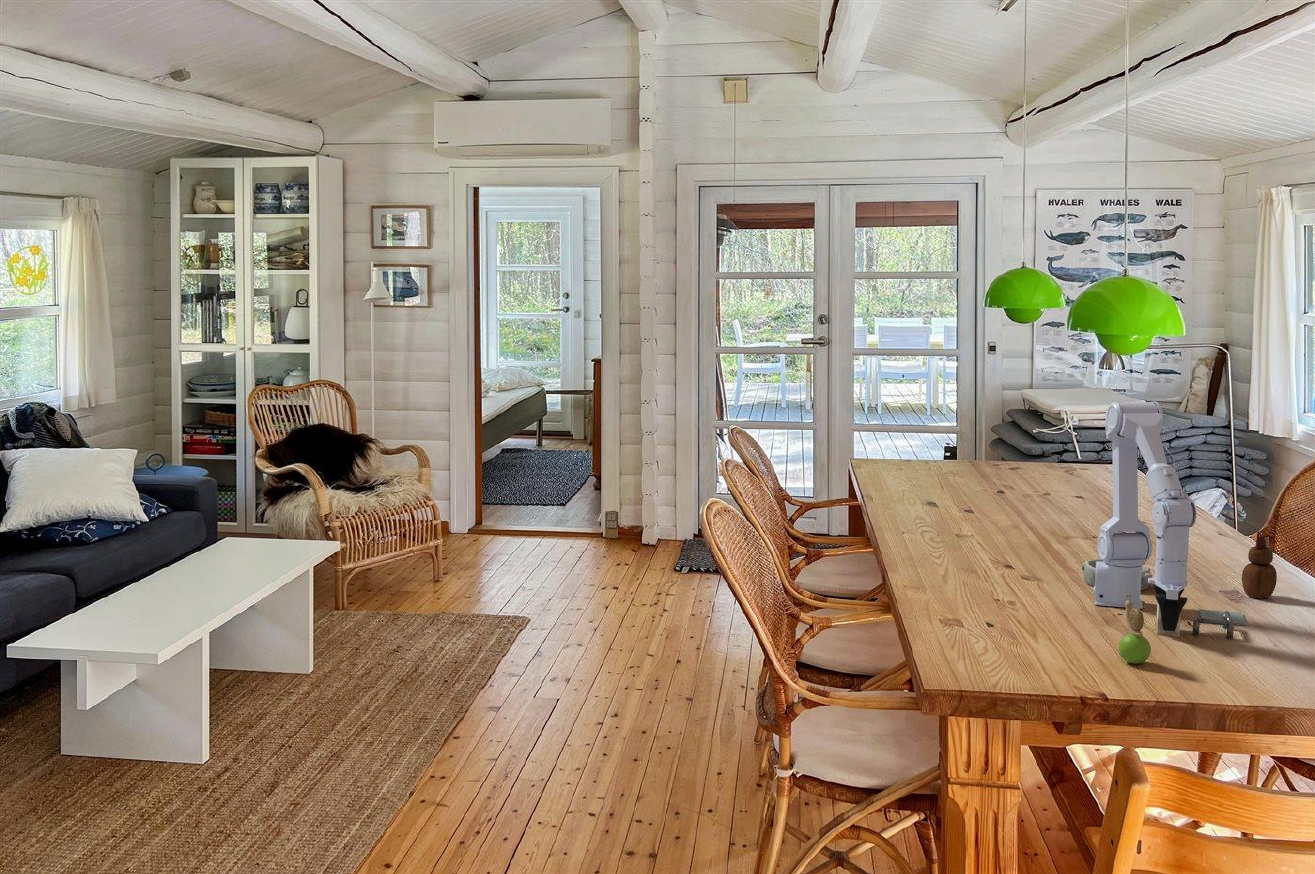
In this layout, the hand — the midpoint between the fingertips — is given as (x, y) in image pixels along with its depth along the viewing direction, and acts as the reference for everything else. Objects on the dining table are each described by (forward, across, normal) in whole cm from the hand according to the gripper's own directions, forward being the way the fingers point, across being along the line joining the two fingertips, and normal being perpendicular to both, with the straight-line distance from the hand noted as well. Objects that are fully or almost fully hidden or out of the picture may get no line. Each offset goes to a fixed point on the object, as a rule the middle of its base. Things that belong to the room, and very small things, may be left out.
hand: (1168, 625), depth 219 cm
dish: (+2, -35, -9) cm, 36 cm away
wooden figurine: (+2, -34, +20) cm, 39 cm away
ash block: (+2, 0, 0) cm, 2 cm away
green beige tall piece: (+2, +21, -7) cm, 22 cm away
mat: (+1, -14, +11) cm, 18 cm away
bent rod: (+1, -4, +8) cm, 9 cm away
